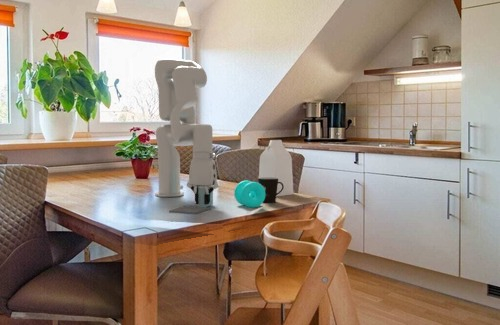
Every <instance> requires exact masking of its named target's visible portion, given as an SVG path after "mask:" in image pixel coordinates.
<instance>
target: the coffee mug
mask: <svg viewBox="0 0 500 325" xmlns="http://www.w3.org/2000/svg"><path fill="white" fill-rule="evenodd" d="M257 183H259V184H261V185H262V186H263V188H264V190H265V199H264V201H263V203H264V204H266V203H267V204H271V203H276V201H277V197H276V195H278V194H279V193H280V192H281V191H282V190H283V188H284V186H283V183H281V182H278V178H273V177H262V178H259V177H257ZM278 183H280V184H281V185H282V189H281V191H279V192H278V193H277V186H278ZM263 203H262V204H263Z"/></svg>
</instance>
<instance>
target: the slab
mask: <svg viewBox="0 0 500 325" xmlns="http://www.w3.org/2000/svg"><path fill="white" fill-rule="evenodd" d="M213 186H214V185H212V186H211V187H213ZM205 194H206V191H205V186H198V204H197V207H209V206H213V205H214V190H213V191H212V192H211V194H210V202H209V204H207V205H205V204H204V195H205Z"/></svg>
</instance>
